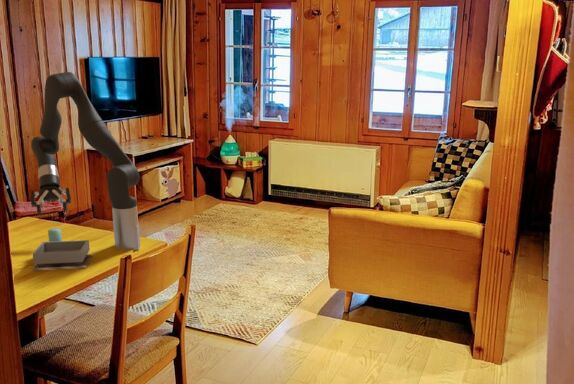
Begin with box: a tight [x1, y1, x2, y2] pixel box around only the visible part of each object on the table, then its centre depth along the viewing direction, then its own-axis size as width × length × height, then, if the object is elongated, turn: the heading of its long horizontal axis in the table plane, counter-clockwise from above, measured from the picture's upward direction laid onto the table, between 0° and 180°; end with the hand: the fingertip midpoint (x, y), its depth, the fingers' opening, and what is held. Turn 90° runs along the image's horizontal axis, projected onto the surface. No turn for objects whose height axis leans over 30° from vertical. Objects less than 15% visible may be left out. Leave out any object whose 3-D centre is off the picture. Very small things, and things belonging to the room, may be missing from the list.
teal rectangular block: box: [47, 227, 63, 242], centre depth 196 cm, size 4×4×10 cm
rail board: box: [31, 253, 94, 272], centre depth 187 cm, size 18×12×2 cm, turn 99°
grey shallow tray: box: [32, 239, 91, 268], centre depth 186 cm, size 16×12×6 cm
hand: (52, 213), depth 203 cm, fingers open, 8 cm apart
